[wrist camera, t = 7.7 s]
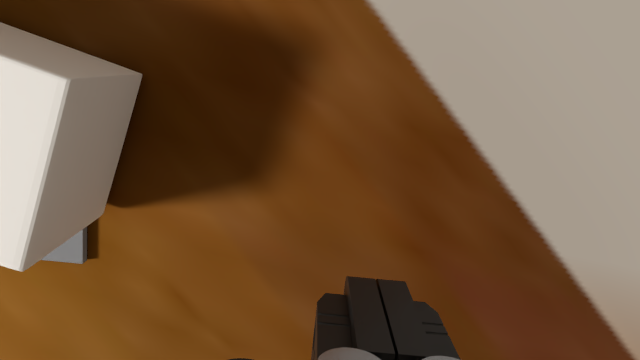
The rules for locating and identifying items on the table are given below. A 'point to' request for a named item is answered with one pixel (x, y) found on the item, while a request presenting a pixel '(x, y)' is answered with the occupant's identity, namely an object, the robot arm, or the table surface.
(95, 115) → the milk carton
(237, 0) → the table surface
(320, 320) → the robot arm
